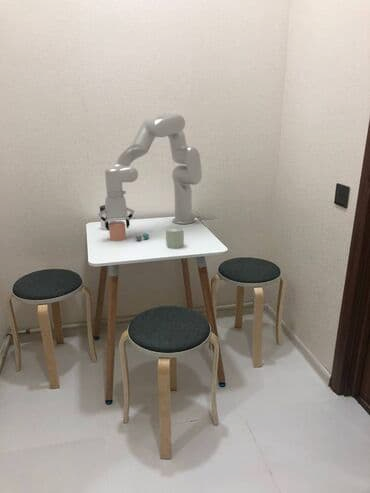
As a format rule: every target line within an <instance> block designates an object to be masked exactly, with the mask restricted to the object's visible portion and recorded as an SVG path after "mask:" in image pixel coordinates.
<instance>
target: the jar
mask: <svg viewBox="0 0 370 493" xmlns="http://www.w3.org/2000/svg"><path fill="white" fill-rule="evenodd" d="M103 210H105V204H103V205H100V206H99V213H100V212H102V211H103ZM102 216H103V217H104V218H106V213H104V214H103V215H102ZM113 221H117V218H110V219H109V220H108V224H109V223H110V222H113ZM100 226H101V230H103V231H104V230H105V231H108V230H107V228H106V227H105V222H104V221H103V220H102V219H101V218H100Z"/></svg>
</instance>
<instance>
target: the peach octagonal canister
mask: <svg viewBox="0 0 370 493" xmlns="http://www.w3.org/2000/svg"><path fill="white" fill-rule="evenodd" d="M126 228H127V227H126V222H125V221H122V220H116V221H113V222H110V223H109V230H108V231H109V232H108V233H109V239H110V241H113V242H121V241H124V240H126V239H127V232H126V231H127V229H126Z"/></svg>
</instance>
